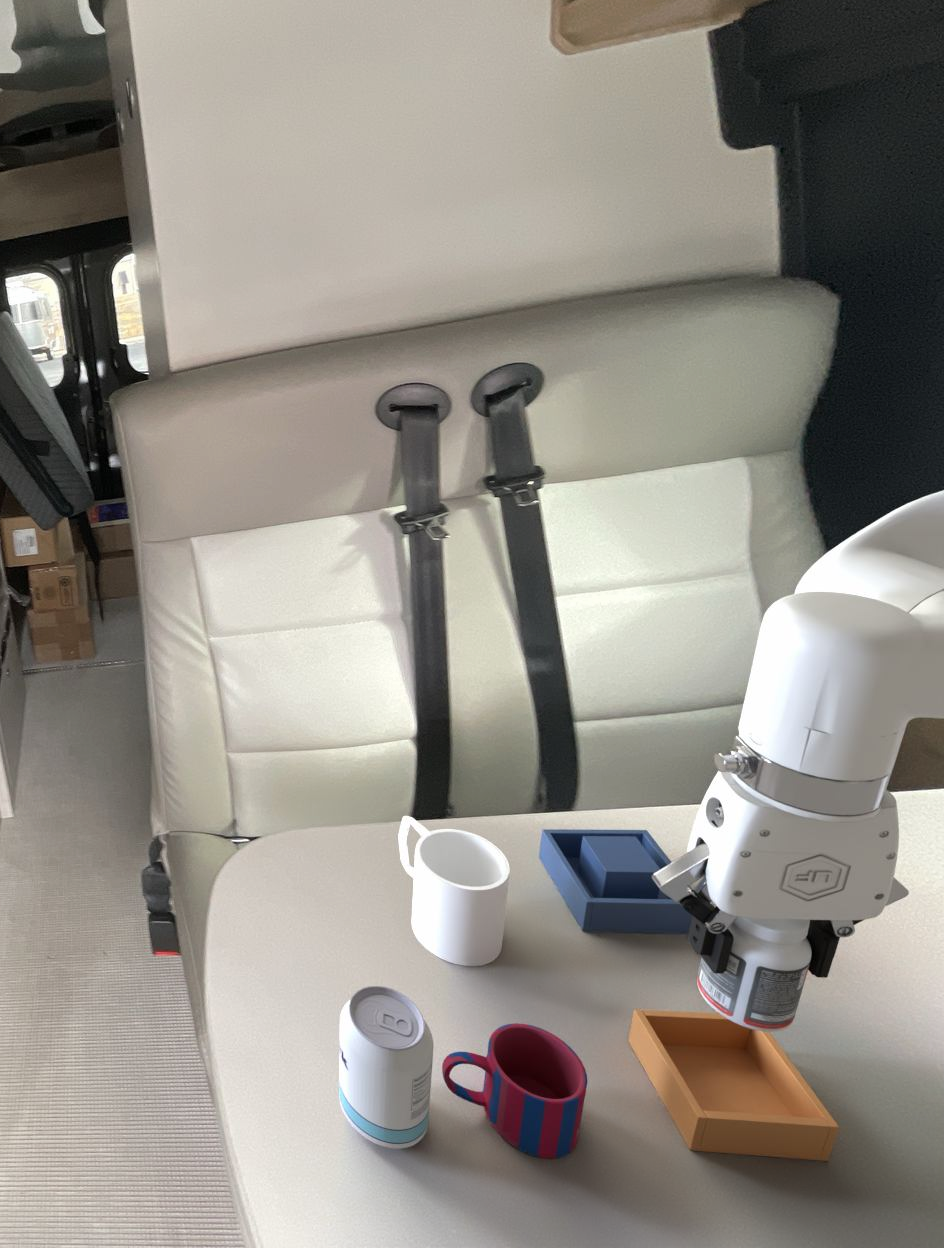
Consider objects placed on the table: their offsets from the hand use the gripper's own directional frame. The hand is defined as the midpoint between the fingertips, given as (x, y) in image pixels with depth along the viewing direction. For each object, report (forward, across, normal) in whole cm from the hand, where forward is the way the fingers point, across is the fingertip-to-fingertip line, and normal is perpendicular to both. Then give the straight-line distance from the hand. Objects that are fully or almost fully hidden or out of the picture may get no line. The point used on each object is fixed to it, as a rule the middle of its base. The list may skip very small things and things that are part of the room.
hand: (756, 957), depth 63 cm
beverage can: (+16, -27, -4) cm, 32 cm away
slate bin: (+16, +2, +21) cm, 27 cm away
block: (+15, +2, +21) cm, 26 cm away
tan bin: (+16, 0, 0) cm, 16 cm away
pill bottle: (+5, 0, 0) cm, 5 cm away
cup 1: (+16, -16, +17) cm, 29 cm away
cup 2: (+16, -17, -3) cm, 23 cm away
